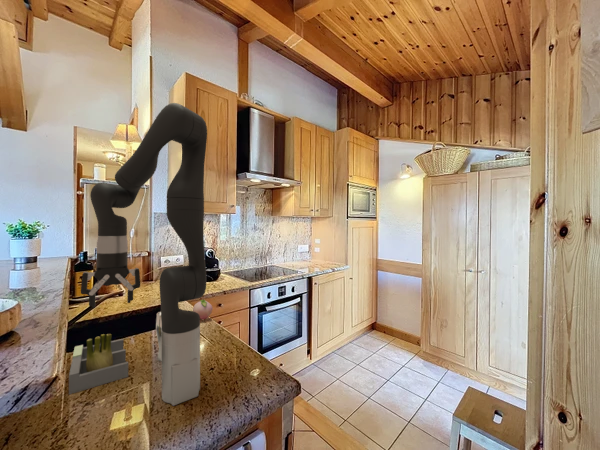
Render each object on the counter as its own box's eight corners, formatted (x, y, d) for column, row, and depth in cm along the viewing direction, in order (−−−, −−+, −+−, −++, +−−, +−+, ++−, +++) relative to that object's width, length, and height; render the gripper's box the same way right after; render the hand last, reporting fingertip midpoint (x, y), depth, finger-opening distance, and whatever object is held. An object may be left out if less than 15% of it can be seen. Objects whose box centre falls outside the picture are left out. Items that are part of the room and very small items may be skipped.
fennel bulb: (84, 383, 72) (84, 340, 73) (91, 373, 77) (91, 333, 77) (109, 378, 75) (109, 337, 75) (114, 369, 79) (114, 330, 79)
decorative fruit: (190, 319, 123) (190, 298, 123) (208, 315, 127) (208, 295, 128) (196, 325, 115) (196, 302, 115) (214, 321, 120) (214, 299, 120)
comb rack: (128, 376, 75) (128, 358, 75) (68, 394, 67) (68, 373, 67) (123, 349, 92) (123, 334, 92) (75, 361, 84) (75, 345, 84)
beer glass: (155, 364, 82) (155, 317, 82) (156, 354, 88) (156, 311, 88) (179, 359, 85) (179, 313, 86) (178, 350, 92) (178, 308, 92)
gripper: (80, 253, 70) (79, 313, 70) (141, 250, 78) (141, 304, 78) (82, 250, 76) (82, 305, 76) (139, 248, 84) (138, 297, 84)
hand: (111, 304), depth 77 cm, fingers open, 8 cm apart
